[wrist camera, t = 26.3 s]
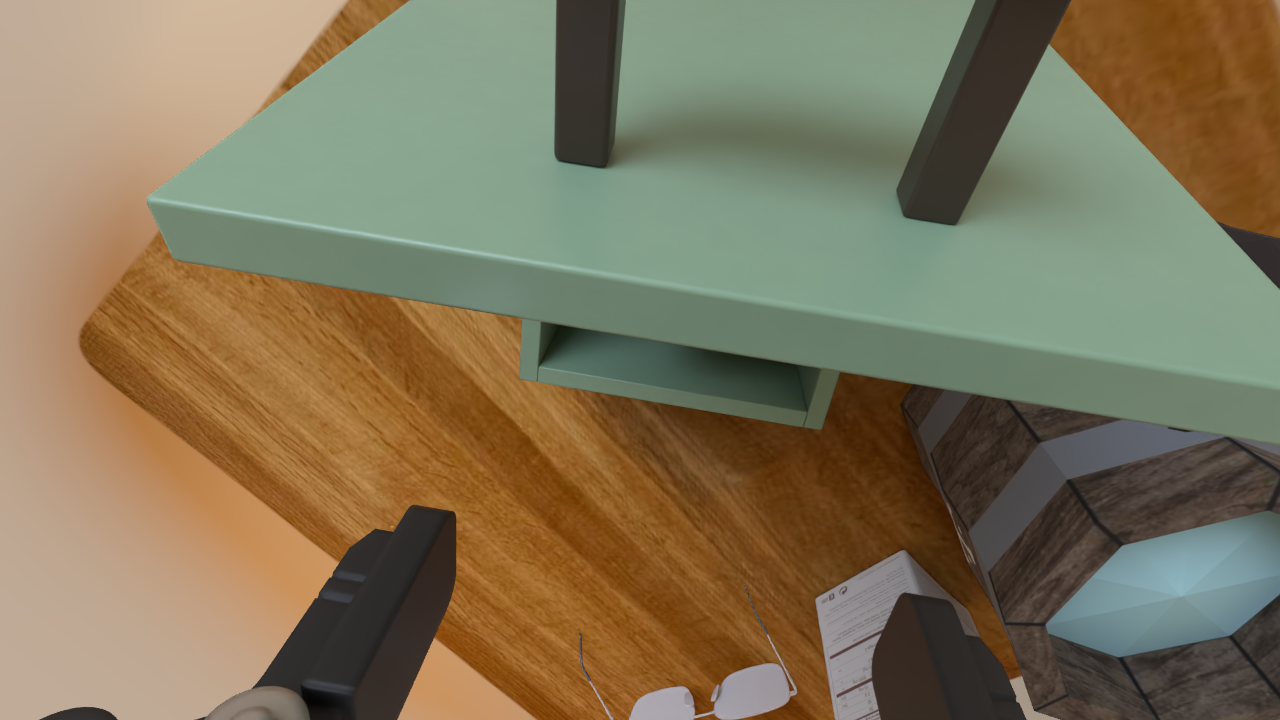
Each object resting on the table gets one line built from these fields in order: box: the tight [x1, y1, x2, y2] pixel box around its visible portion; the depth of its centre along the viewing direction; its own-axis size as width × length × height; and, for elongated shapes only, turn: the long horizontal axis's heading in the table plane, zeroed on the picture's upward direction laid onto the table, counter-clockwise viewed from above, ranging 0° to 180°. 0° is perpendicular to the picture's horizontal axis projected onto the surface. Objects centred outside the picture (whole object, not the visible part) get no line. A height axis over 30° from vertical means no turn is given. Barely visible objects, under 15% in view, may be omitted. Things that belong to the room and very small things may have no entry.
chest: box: [519, 319, 840, 430], centre depth 28 cm, size 17×13×9 cm
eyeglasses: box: [579, 586, 797, 720], centre depth 46 cm, size 14×8×4 cm, turn 118°
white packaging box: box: [815, 550, 981, 720], centre depth 38 cm, size 7×7×13 cm
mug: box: [901, 221, 1280, 720], centre depth 28 cm, size 20×14×15 cm
